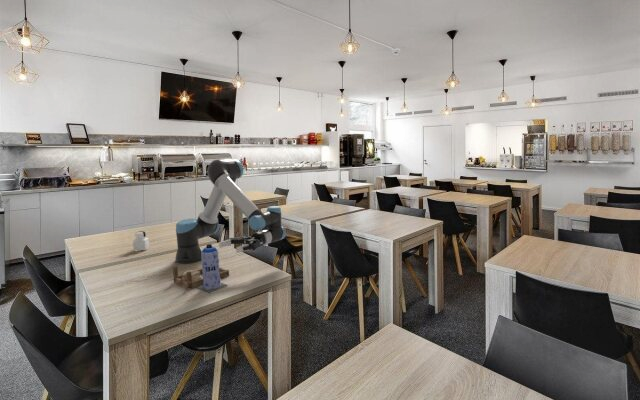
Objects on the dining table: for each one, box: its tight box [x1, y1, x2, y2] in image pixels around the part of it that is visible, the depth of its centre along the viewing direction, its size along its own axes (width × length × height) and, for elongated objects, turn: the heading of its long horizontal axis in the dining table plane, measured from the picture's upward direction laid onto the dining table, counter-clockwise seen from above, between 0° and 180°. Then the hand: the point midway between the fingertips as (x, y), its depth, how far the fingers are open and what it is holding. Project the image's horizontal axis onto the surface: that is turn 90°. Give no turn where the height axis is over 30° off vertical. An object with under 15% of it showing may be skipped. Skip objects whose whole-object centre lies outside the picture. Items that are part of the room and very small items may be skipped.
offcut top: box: [182, 269, 201, 280], centre depth 168 cm, size 6×5×2 cm
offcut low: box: [182, 276, 202, 282], centre depth 168 cm, size 7×6×3 cm
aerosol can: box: [201, 243, 222, 289], centre depth 161 cm, size 8×8×20 cm
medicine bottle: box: [132, 230, 150, 252], centre depth 226 cm, size 7×7×12 cm
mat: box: [196, 281, 228, 294], centre depth 162 cm, size 10×10×1 cm
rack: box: [172, 265, 230, 290], centre depth 172 cm, size 14×22×8 cm, turn 141°
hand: (227, 247), depth 167 cm, fingers open, 13 cm apart
